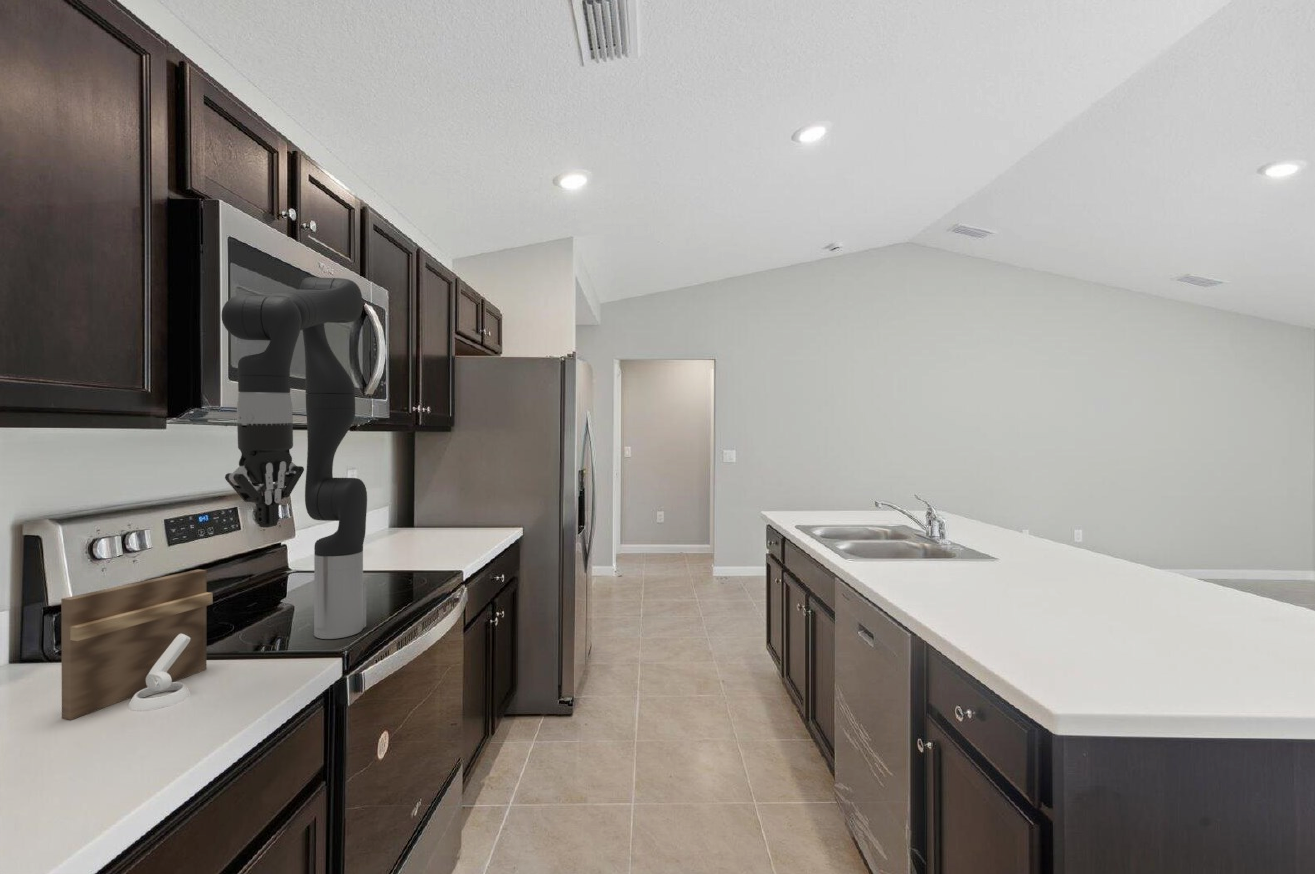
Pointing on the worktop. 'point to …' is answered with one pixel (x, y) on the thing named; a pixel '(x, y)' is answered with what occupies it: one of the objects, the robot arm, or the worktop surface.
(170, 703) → the white lever switch
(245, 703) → the worktop surface
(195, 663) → the wall board
